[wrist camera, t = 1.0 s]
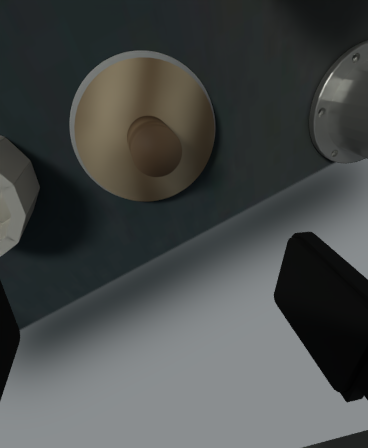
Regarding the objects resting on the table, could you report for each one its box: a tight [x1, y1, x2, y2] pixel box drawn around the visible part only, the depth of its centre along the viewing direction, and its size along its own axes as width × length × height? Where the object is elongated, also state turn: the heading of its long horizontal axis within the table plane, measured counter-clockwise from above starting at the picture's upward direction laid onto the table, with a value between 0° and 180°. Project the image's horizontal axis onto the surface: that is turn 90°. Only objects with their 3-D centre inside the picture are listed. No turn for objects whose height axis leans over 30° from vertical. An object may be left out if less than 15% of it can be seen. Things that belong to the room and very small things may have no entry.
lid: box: [74, 57, 215, 201], centre depth 25 cm, size 13×13×6 cm
